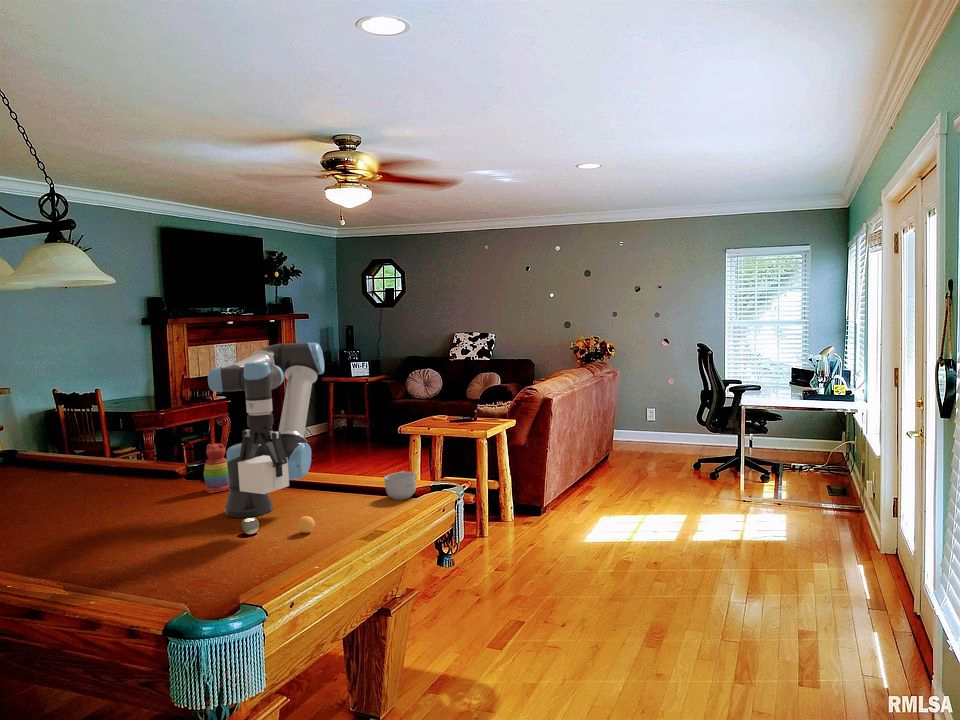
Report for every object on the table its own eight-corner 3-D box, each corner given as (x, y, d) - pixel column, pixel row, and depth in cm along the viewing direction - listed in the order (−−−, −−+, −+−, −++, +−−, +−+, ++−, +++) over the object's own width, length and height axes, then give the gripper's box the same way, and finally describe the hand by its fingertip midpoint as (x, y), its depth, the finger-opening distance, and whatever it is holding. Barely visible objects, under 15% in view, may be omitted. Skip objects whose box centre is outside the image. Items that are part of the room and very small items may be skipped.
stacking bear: (239, 486, 281) (235, 440, 280) (224, 493, 271) (220, 446, 270) (213, 486, 284) (210, 440, 282) (198, 493, 274) (194, 446, 272)
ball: (294, 534, 219) (293, 517, 219) (305, 529, 224) (304, 513, 223) (308, 536, 217) (306, 519, 216) (318, 531, 221) (317, 514, 221)
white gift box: (239, 491, 221) (237, 462, 221) (265, 483, 230) (263, 455, 229) (264, 494, 216) (262, 464, 215) (289, 485, 225) (287, 457, 224)
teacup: (411, 502, 249) (410, 478, 248) (380, 501, 251) (379, 478, 251) (422, 491, 263) (421, 469, 262) (393, 490, 265) (392, 469, 264)
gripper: (223, 413, 224) (228, 485, 226) (278, 416, 212) (283, 492, 214) (242, 410, 230) (247, 479, 232) (296, 412, 219) (301, 486, 221)
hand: (264, 485), depth 223 cm, fingers closed on white gift box, 10 cm apart
